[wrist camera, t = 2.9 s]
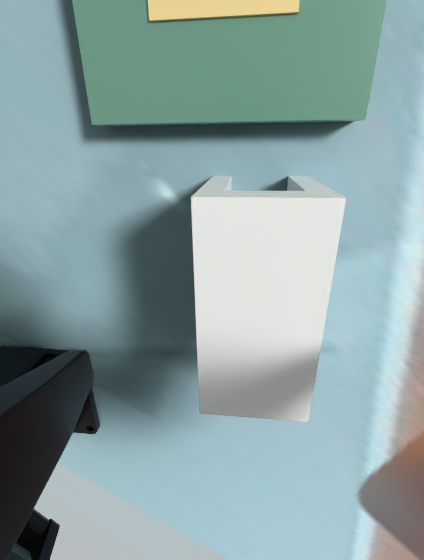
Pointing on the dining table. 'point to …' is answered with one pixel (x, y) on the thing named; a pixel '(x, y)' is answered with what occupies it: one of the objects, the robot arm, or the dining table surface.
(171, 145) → the dining table surface
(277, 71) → the board
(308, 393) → the box
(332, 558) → the dining table surface
